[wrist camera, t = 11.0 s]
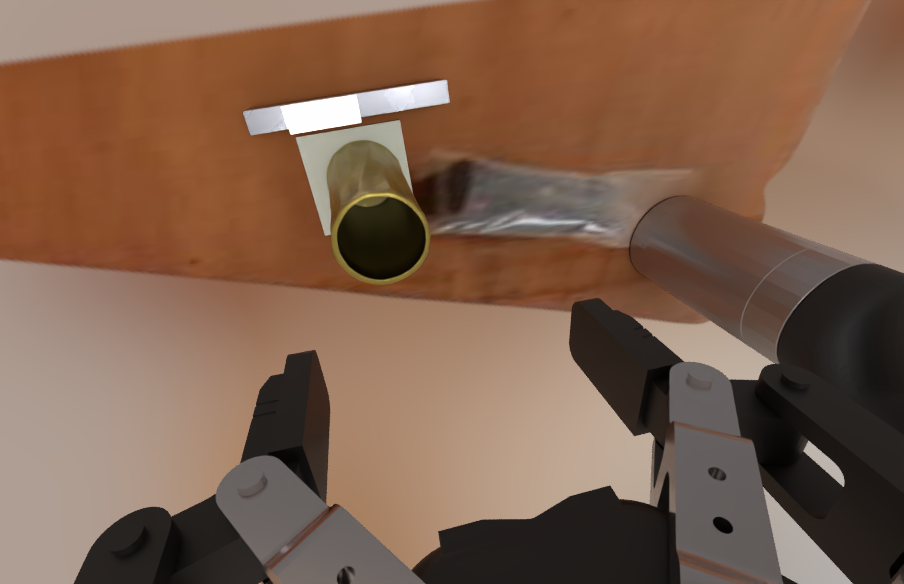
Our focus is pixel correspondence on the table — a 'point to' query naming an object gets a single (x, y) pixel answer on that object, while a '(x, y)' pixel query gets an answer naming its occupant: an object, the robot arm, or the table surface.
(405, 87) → the price rail
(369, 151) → the vase
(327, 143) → the pad
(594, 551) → the robot arm
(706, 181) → the table surface
